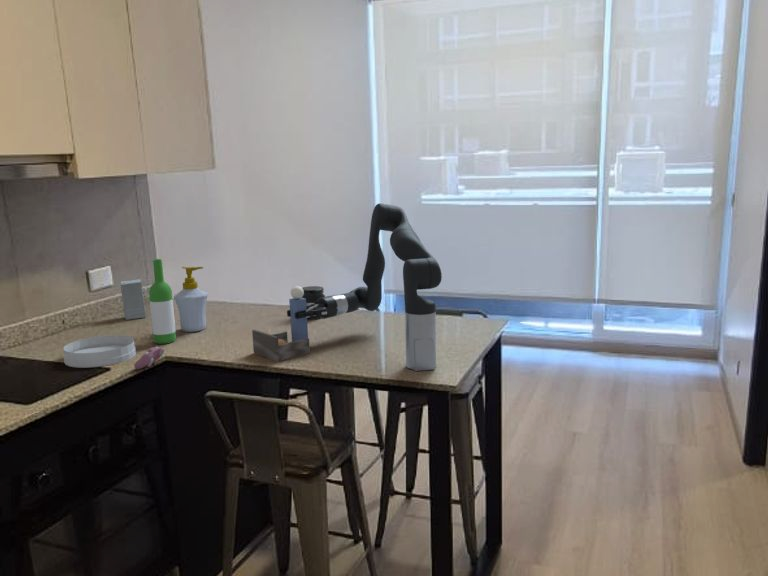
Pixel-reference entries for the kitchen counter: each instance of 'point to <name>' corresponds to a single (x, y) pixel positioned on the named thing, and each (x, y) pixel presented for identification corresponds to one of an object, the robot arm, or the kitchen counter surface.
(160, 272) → the wine bottle
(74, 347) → the dish
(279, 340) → the ball
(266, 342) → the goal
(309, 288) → the supplement container
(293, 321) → the figure
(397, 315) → the kitchen counter surface
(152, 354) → the video game controller
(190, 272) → the soap bottle
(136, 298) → the skincare box
